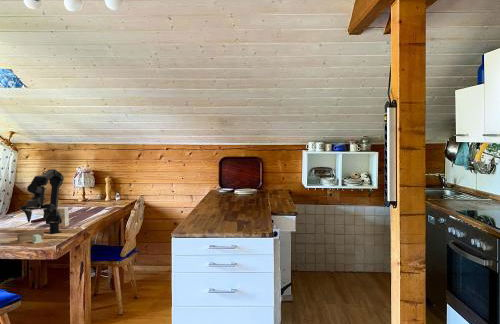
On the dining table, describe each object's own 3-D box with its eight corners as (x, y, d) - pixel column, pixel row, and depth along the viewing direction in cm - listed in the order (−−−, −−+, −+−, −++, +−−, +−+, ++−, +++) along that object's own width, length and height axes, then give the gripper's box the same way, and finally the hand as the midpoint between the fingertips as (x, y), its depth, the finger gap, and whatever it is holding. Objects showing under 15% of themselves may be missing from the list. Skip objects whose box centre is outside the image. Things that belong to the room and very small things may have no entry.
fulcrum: (31, 242, 245) (30, 235, 245) (39, 240, 249) (39, 234, 249) (34, 243, 242) (34, 236, 241) (43, 241, 245) (42, 235, 245)
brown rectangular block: (17, 241, 248) (17, 233, 247) (41, 237, 258) (41, 229, 258) (19, 242, 245) (19, 234, 245) (43, 238, 256) (43, 230, 255)
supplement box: (54, 226, 286) (53, 208, 285) (58, 225, 291) (58, 207, 290) (65, 227, 285) (64, 208, 284) (69, 225, 290) (68, 207, 289)
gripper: (15, 194, 238) (12, 221, 234) (46, 192, 237) (44, 219, 233) (27, 197, 249) (24, 223, 245) (56, 196, 248) (54, 221, 244)
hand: (36, 222), depth 241 cm, fingers open, 9 cm apart
